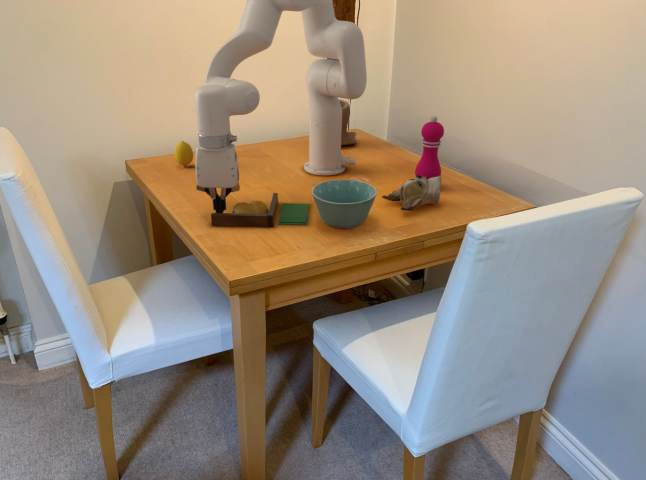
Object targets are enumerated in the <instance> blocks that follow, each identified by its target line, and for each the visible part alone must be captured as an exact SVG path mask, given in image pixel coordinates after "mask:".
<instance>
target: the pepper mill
mask: <svg viewBox="0 0 646 480" xmlns="http://www.w3.org/2000/svg"><path fill="white" fill-rule="evenodd" d="M420 134H421V136H422V138H423V139H422V140H421V145H422V154H421V157H420V159H419V160H418V162H417V164H416V166H415V169H414V176H415V177H416V176H417V175H421V176H424V177H425V178H426V179H427V180H428V179H430V178H434V177H438V176H441V177H442V168H441V163H440V160H439V156H438V155H439V154H438V153H439V147H441V143H442V140H441V139H442V138H443V137H444V134H445V128H444V126H443V125H442V123H440V122H439V121H438V116H436V115H433V116H430V121H428V122H426V123H424V124H423V126H422V128H421V131H420Z"/></svg>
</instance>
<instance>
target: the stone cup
mask: <svg viewBox="0 0 646 480" xmlns="http://www.w3.org/2000/svg"><path fill="white" fill-rule="evenodd" d="M338 99H339V101H340V104H341V108H342V130H341V146H347V145H356V144H357V139H356V135H357V133H356V131H347V130H348V125H349V121H350V117H351V108H350V105H349V102H347V100H345V99H341V98H338Z"/></svg>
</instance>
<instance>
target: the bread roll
mask: <svg viewBox="0 0 646 480" xmlns="http://www.w3.org/2000/svg"><path fill="white" fill-rule="evenodd" d="M269 209H270V208H269V207H268V205H267V204H266V203H265V202H264V201H262V200H250V201H247V202H245V201H241V202H239V201H238V202H237V203H236V204H235V205H234V206H233V208H232V213H240V214H267V213H269Z"/></svg>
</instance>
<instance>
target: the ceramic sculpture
mask: <svg viewBox="0 0 646 480" xmlns="http://www.w3.org/2000/svg"><path fill="white" fill-rule="evenodd" d="M441 188H442V175H441V176H438V177H434V178H430V179H428V180H427V179H426V178H425V177H424V176H421V175H417V176H415V178H410V179H407V180H405V181H404V182H403V183H402V184H401V186H400V187H399V188H397V189H395V190H392V192H391V193H388V194H387V195H384V194H383V195H382V196H381V198H382V199H384V200H387V201H390V202H394V203H395V202H401V203H402V206H401V208H400V210H401V211H404V212H412V211H416V209H417V208H419V207H421V206H423V205H427V204H429V205H437V204H438V202H439V201H440V199H441V198H440V196H441V191H442V189H441Z"/></svg>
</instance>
